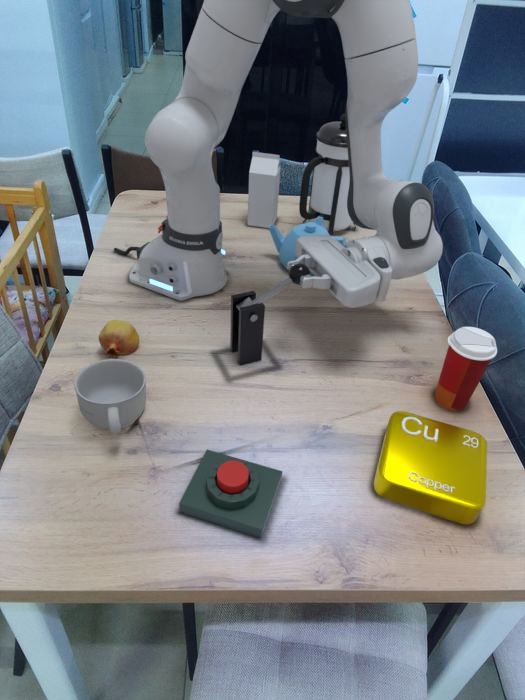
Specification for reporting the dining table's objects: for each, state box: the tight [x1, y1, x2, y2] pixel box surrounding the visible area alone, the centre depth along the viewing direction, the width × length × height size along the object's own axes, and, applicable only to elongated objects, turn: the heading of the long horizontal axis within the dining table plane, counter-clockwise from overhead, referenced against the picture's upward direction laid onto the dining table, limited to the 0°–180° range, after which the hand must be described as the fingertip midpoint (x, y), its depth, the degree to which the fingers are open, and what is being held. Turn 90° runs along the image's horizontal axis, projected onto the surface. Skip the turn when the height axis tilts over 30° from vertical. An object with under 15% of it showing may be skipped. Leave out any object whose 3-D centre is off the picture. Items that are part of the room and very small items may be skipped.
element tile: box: [373, 410, 488, 525], centre depth 77 cm, size 15×15×5 cm
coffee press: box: [298, 113, 357, 236], centre depth 131 cm, size 17×16×30 cm
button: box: [217, 461, 249, 494], centre depth 70 cm, size 4×4×2 cm
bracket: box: [229, 290, 266, 366], centre depth 92 cm, size 10×8×14 cm
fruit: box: [98, 319, 140, 359], centre depth 94 cm, size 7×7×10 cm
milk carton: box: [247, 151, 282, 229], centre depth 136 cm, size 7×7×19 cm
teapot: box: [268, 216, 347, 277], centre depth 122 cm, size 15×15×11 cm
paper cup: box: [434, 326, 498, 412], centre depth 86 cm, size 8×8×14 cm
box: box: [178, 449, 283, 539], centre depth 72 cm, size 12×10×4 cm
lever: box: [236, 263, 310, 310], centre depth 89 cm, size 14×4×4 cm, turn 114°
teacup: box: [73, 358, 147, 435], centre depth 80 cm, size 14×11×8 cm
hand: (295, 275), depth 88 cm, fingers closed on lever, 4 cm apart
